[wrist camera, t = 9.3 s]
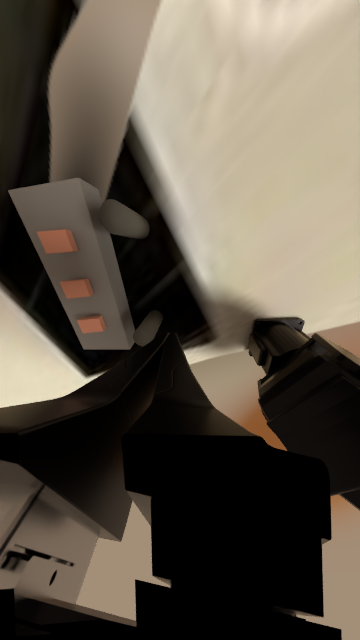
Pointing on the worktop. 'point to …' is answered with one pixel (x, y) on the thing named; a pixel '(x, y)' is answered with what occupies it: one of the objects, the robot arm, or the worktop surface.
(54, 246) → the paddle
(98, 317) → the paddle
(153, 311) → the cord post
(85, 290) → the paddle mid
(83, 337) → the power strip
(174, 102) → the worktop surface
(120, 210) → the peg
